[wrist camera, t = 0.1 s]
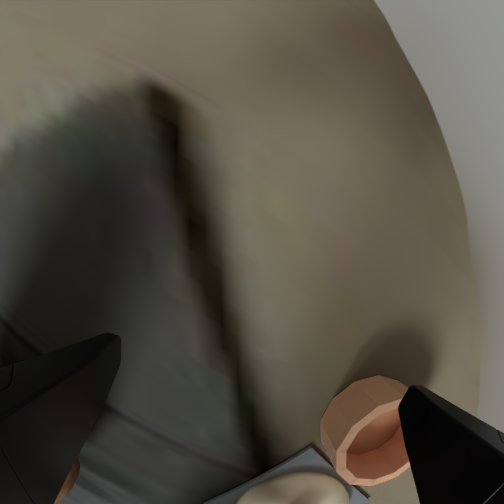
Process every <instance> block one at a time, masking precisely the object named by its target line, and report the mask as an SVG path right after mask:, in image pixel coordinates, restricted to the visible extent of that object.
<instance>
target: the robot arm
mask: <svg viewBox="0 0 504 504" xmlns="http://www.w3.org/2000/svg"><path fill="white" fill-rule="evenodd" d="M120 361H121V338H120V336H118V335H115V334H112V333H104V334H101V335H98V336H95V337H92V338H89V339H87V340H84V341H81V342H78V343H75V344H72V345H69V346H66V347H63V348H60V349H58V350H55V351H52V352H49V353H46V354H43V355H40V356H37V357H34V358H31V359H28V360H25V361H21V362H18V363H15V364H14V366H13V365H9V366H6V367H3V368H0V504H54V503H55V501H56V499H57V497H58V494H59V492H60V490H61V488H62V486H63V484H64V482H65V480H66V478H67V476H68V474H69V472H70V470H71V468H72V466H73V464H74V462H75V460H76V458H77V456H78V454H79V452H80V450H81V448H82V446H83V444H84V442H85V441H86V439H87V437H88V435H89V433H90V431H91V429H92V427H93V425H94V424H95V422H96V420H97V418H98V416H99V414H100V412H101V410H102V408H103V406H104V404H105V401H106V399H107V396H108V394H109V391H110V389H111V386H112V384H113V381H114V379H115V376H116V374H117V371H118V369H119V366H120ZM398 413H399V418H400V423H401V428H402V433H403V439H404V444H405V448H406V452H407V456H408V459H409V463H410V466H411V470H412V474H413V478H414V481H415V485H416V489H417V493H418V497H419V501H420V504H504V433H502V432H501V431H499V430H496V429H495V428H494V427H492V426H490V425H488V424H487V423H484V422H483V421H481V420H479V419H478V418H476V417H474V416H473V415H471V414H469V413H467V412H466V411H464V410H462V409H461V408H459V407H457V406H455V405H454V404H452V403H450V402H449V401H447V400H445V399H444V398H442V397H440V396H438V395H437V394H435V393H433V392H432V391H430V390H428V389H427V388H425V387H423V386H421V385H412V386H410V387H409V388H408V389H407V391H406V393H405V395H404V396H403V398H402V400H401V402H400V403H399V406H398Z"/></svg>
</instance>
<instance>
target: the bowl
mask: <svg viewBox="0 0 504 504" xmlns="http://www.w3.org/2000/svg"><path fill="white" fill-rule="evenodd" d="M407 389H408V388H407V387H406V386H405V385H403V384H402V383H401V382H400V381H398V380H395V379H391V378H388V377H384V376H381V375H377V376H373V377H370V378H366V379H362V380H359V381H355V382H353V383H352V384H351V385H349V386H348V387H347V388H346V389H344V390H343V391H342V392H340V393H339V394H338V395H337V396H335V397H334V398H333V399H332V400H331V402H330V404H329V406H328V408H327V409H326V411H325V413H324V415H323V416H322V418H321V420H320V431H321V442H322V444H323V446H324V448H325V450H326V452H327V454H328V456H329V458H330V460H331V462H332V465H333V467H334V469H335V471H336V472H337V473H338V474H339V475H340V476H341V477H342V478H343V479H344V480H345V481H346V482H348V483H349V484H350V485H364V486H373V485H376V484H379V483H382V482H384V481H387V480H390V479H392V478H395V477H397V476H398V475H399V474H401V473H402V472H403V471H405V470H406V469H407V468H408V467H410V463H409V459H408V456H407V452H406V448H405V444H404V439H403V433H402V428H401V423H400V418H399V413H398V406H399V403H400V402H401V400H402V398H403V396H404V395H405V393H406V391H407Z"/></svg>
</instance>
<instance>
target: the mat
mask: <svg viewBox="0 0 504 504" xmlns="http://www.w3.org/2000/svg"><path fill="white" fill-rule="evenodd" d="M295 472H318V473H323V474H327V475H330V476H332V477H334V478H336V479H338V480H339V481H340V482H341V483H342V484H343V485H344V487H345V489H346V491H347V493H348V495H349V504H365V503H367V502H368V501H369V499H368V498H367V497H366V496H364V495H363V494H362V493H361V492H360V491H359V490H358V489H356V488H355V487H354V486H353V485H350V484H349V483H348V482H346V481H345V480H344V479H343V478H342V477H341V476H340V475H339V474H338V473H337V472H336V471H335V469H334V468H333V467H332V466H331V465H330V464H329V463H328V462H327V461H326V460H325V459H324V458H323V457H322V456H321V455H320V454H319V453H318V452H317V451H316V450H315V449H314V448H313V447H312V446H311V445H310V446H308V447H307V448H305V449H304V450H302V451H301V452H299V453H297V454H296V455H294V456H293V457H291V458H289V459H288V460H286V461H284V462H283V463H281V464H279V465H277V466H276V467H274V468H272V469H270V470H269V471H267V472H265V473H263V474H261V475H260V476H258V477H256V478H254V479H252V480H250V481H248V482H246V483H244V484H242V485H240V486H238V487H236V488H234V489H232V490H230V491H228V492H226V493H224V494H222V495H219V496H217V497H215V498H213V499H210V500H208V501H206V502H203V504H236V502H237V500H238V499H239V497H240V496H241V495H242V494H243V493H244V492H245V491H246V490H248V489H249V488H251V487H252V486H254V485H256V484H257V483H260V482H262V481H264V480H266V479H269V478H272V477H275V476H279V475H283V474H288V473H295Z"/></svg>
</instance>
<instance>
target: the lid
mask: <svg viewBox="0 0 504 504" xmlns="http://www.w3.org/2000/svg"><path fill="white" fill-rule="evenodd" d="M236 504H349V495H348V493H347V491H346V489H345V487H344V485H343V484H342V483H341V482H340V481H339V480H338V479H336V478H334V477H332V476H330V475H327V474H323V473H318V472H295V473H288V474H283V475H279V476H275V477H272V478H269V479H266V480H264V481H262V482H260V483H257V484H256V485H254V486H252V487H251V488H249V489H248V490H246V491H245V492H244V493H243V494H242V495H241V496H240V497H239V499H238V500H237V502H236Z"/></svg>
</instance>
